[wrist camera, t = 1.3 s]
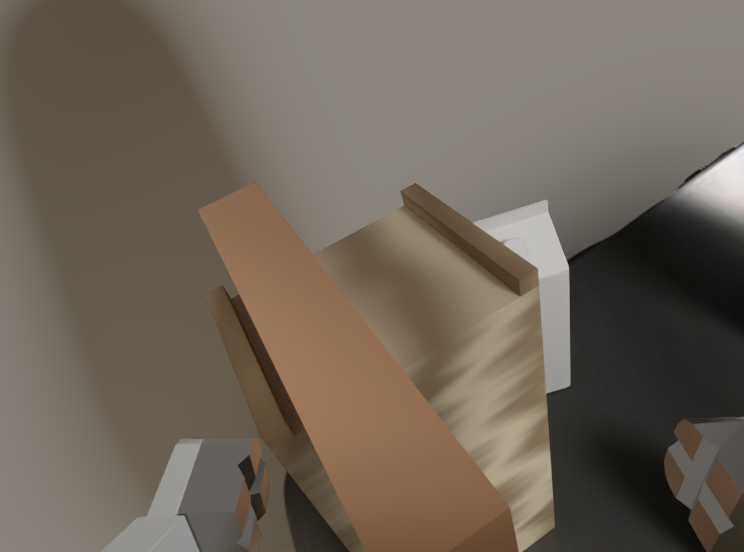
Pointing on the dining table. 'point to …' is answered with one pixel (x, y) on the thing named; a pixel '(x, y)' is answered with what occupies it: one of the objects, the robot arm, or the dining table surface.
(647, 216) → the dining table surface
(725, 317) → the dining table surface
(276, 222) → the bar
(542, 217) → the milk carton
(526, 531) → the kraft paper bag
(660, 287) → the dining table surface
